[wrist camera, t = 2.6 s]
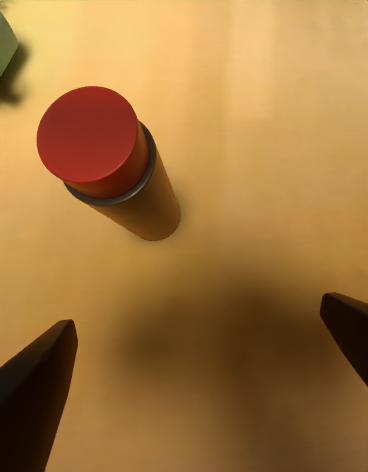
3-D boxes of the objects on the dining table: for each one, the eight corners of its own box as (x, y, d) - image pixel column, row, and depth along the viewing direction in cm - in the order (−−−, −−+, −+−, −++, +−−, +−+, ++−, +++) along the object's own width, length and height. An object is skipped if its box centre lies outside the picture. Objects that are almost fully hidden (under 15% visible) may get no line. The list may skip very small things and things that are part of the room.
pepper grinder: (178, 242, 22) (139, 192, 9) (126, 239, 22) (18, 188, 9) (182, 191, 22) (150, 77, 10) (131, 189, 23) (38, 79, 10)
